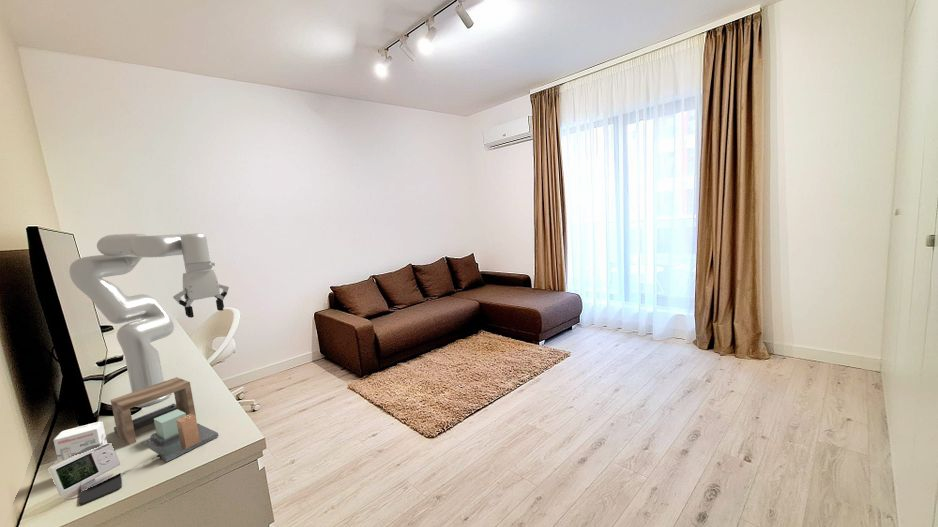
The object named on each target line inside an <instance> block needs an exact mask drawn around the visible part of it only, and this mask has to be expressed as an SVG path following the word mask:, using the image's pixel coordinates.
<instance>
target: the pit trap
mask: <svg viewBox="0 0 938 527" xmlns="http://www.w3.org/2000/svg"><path fill="white" fill-rule="evenodd" d="M176 409H177V406H176V403H173V404H169V405H167V406H163V407H162V408H159V409H157V410H155V411H152V412H150V413H147V414H144V415H141V416H138V417H136V418H134V419H133V418H132V422H133V427H134V431H135V430H137V429H140V428H142V427H145V426H147V425H149V424H151V423H154V418H157V417H159V416H162V415H164V414H167V413H169V412H172V411H174V410H176ZM113 431H114V433H115V434H117V429H116V426H113ZM117 435H118V434H117Z"/></svg>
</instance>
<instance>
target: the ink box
mask: <svg viewBox="0 0 938 527" xmlns="http://www.w3.org/2000/svg"><path fill="white" fill-rule="evenodd" d="M53 444H54V450H55V455H56V459H57V463H58V462H60V461H62V460H65V459H67V458H70V457H72V456H74V455H77V454H81V453H84V452H87V451H89V450H91V449H94V448H97V447H99V446H102V445H105V444H108V440H107V435H106V430H105V426H104V422H103V421H96V422H92V423H88V424H85V425H80V426H76V427H73V428H69V429H65V430H62V431H61V432H59V433H58V435H56V436H55V437H54V438H53Z"/></svg>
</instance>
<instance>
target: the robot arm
mask: <svg viewBox="0 0 938 527" xmlns="http://www.w3.org/2000/svg"><path fill="white" fill-rule="evenodd" d="M96 248H97V251H99V253H100V255H98V254H97V255H90V256H83V257H80V258H77V259H76V260H74V261H73V262H71V264H70V266H69V271H68V272H69V277H70V280H71V282H72V283H73V285H74V286H75V287H76V288H77V289H78V290H79V291H81V292H82V293H83V294H84V295H86V296H87V297H88V298H89V299H90V300H91V301H92V302H93V305H95V307H96V308H97V309H98V310H99V311H100V313H101V314H102V315H103V316H104V317H105V319H106V320H107V321H109V323H111V324H115V325H120V324H123V325H122V326H121V327H119V329H118V330H117V332H116V339H117V342H118V344H119V346H120V348H121V350H122V353H123V356H124V360H125V364H126V369H127V375H128V379H129V380H128V381H129V385H130V389H131V393H132V392H135V391H138V390H141V389H144V388H147V387H150V386H153V385H156V384H159V383H161V382H164V381H165V380H164V375H163V368H162V364H161V358H160V354H159V351H158V350H157V349H156V347H154V345H152V344H151V343H153V342H155V341H159V340H161V339H164V338H167V337H169V336H170V335H171V334H172V333H173V332H174V330H175V324H174V322H173V320H172V318H171V317H170V315H168V313H167V312H166V311H165V309H163V307H162V306H161V305H160V304H159V303H158V301H157V300H156V299H155V298H154V297H152V296H150V295H148V294H141V293H140V294H135V295H130V296H128V295H126V294H125V293H124V292H123V291H122V290H121V288H120V287H119V286H117V285H116V284H115V283H113V282H110V281H108V280H106V279H104V278H107V277H108V278H109V277H116V276H122V275H125V274H128V273H131V272H132V271H133V270H134V269H135V267H136V266H137V265H138V264H139V262H140V261H141V260H142V259H143V258H164V257H172V256H173V257H174V256H182V257H183V263H184V268H185V269H184V270H185V272H183V273H182V290H181V291H179V292H178V293H176V294H175V295H174V296H173V297H172V298H173V300H175V302H176V303H177V304H179V305H180V306H182V307H183V308H184V310H185V316H187V318H191V319H192V318H194V316H195V315H194V310H193V306H191V305H192V304H193V302H194V301H198V300H204V299H208V298H212V297H213V298H215V299H216V300H215V303H216V309H217V311H220V312H222V311H224V308H225V305H224V300H225V297H226V296H227V294H228V292H229V289H230V287H229V286H227V285H223V284H220V283H219V281H218V278H217V275H216V273H215V270H214V269H213V267H215V266H216V265H215V264H216V263H215V262H211V261H212V260H211V258H210V252H209V246H208V240H207V236H206V235H205V234H204V233H202V232H201V233H199V232H198V233H187V234H186V233H185V234H184V233H183V234H182V233H181V234H180V233H179V234H163V235H162V234H160V235H159V234H157V235H146V234H143V233H119V234H115V233H114V234H107V235H105V236H102V237H101V238H100V239H99V240H98V241H97V243H96ZM220 289H221V290H222V292H221V290H220ZM182 297H183V298H184V300H183V299H182ZM125 323H126V324H125ZM171 395H172V393H171V394H168V395H165V396H163V397H160V398H157V399H155V400H152V401H149V402H146V403H144V404H141V405H138V406H136V407H138V408H144V407H147V406H152V405H154V404H157V403H159V402H162V401H164V400H166V399H168V398H170V397H171Z"/></svg>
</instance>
